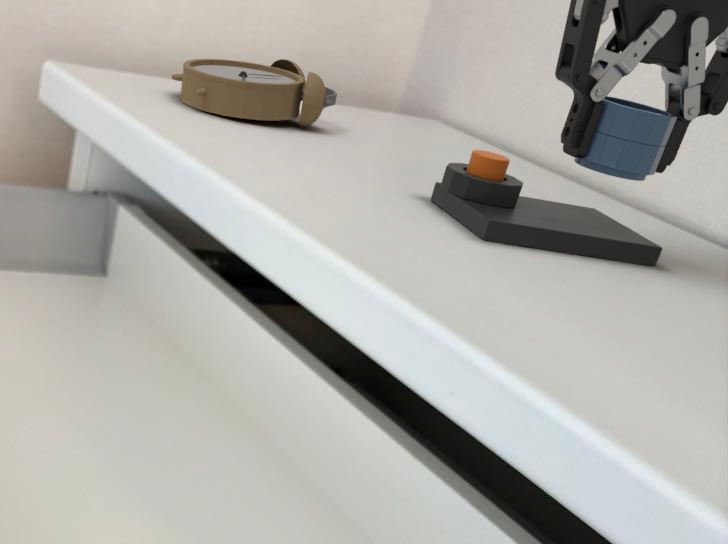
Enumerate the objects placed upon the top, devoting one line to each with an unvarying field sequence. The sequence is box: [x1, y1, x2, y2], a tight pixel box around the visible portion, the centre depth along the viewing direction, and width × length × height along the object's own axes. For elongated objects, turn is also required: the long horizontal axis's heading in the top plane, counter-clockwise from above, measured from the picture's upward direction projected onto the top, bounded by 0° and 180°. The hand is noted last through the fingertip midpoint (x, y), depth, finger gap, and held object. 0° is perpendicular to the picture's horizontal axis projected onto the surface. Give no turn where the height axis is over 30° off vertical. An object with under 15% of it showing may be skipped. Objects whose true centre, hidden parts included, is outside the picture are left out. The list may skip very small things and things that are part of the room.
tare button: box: [466, 149, 511, 181], centre depth 81 cm, size 3×3×2 cm
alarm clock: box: [171, 58, 338, 127], centre depth 102 cm, size 11×5×15 cm
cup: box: [573, 95, 677, 182], centre depth 78 cm, size 6×6×4 cm
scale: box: [430, 162, 663, 267], centre depth 81 cm, size 14×10×3 cm
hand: (612, 161), depth 79 cm, fingers closed on cup, 6 cm apart
